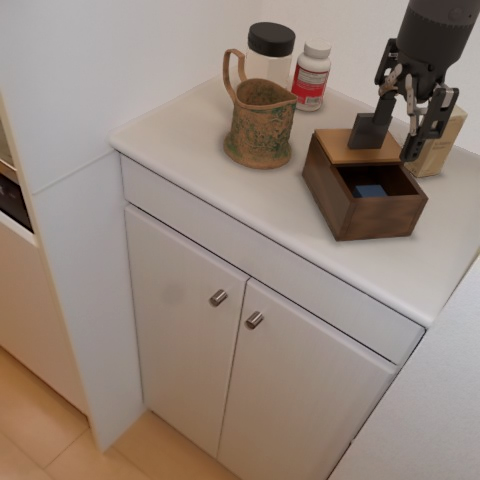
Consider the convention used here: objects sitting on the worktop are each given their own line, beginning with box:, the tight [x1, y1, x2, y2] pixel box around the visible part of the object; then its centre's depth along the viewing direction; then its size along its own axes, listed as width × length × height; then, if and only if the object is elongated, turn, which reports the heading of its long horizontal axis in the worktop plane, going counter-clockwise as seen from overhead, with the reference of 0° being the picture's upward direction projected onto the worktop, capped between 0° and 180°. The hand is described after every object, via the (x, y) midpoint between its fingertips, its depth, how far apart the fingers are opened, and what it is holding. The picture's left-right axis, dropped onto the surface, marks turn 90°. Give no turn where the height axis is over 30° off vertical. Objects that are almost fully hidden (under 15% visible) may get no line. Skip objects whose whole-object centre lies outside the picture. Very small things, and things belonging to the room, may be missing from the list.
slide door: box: [313, 112, 403, 164], centre depth 75 cm, size 12×8×6 cm, turn 104°
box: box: [404, 104, 469, 178], centre depth 86 cm, size 5×4×11 cm
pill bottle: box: [290, 37, 332, 112], centre depth 95 cm, size 6×6×11 cm
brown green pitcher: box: [222, 48, 298, 170], centre depth 84 cm, size 12×18×12 cm, turn 33°
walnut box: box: [301, 132, 429, 242], centre depth 78 cm, size 12×16×7 cm
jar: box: [244, 21, 297, 89], centre depth 94 cm, size 9×8×12 cm
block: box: [353, 185, 387, 198], centre depth 76 cm, size 4×4×4 cm
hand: (392, 141), depth 69 cm, fingers open, 8 cm apart
